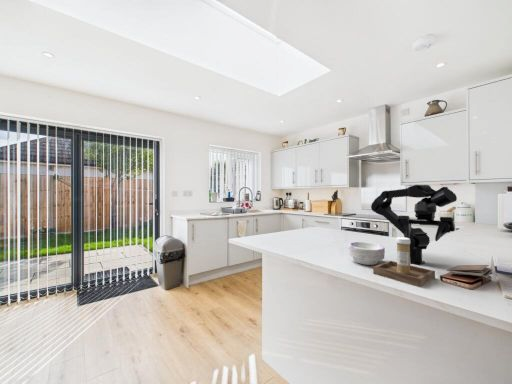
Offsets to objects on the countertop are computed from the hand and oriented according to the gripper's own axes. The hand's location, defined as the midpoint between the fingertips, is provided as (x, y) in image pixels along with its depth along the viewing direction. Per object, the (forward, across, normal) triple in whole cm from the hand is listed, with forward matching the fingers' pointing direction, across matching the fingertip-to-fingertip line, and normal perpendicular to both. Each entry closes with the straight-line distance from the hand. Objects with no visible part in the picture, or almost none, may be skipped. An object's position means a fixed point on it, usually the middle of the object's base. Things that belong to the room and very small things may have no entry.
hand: (421, 239), depth 92 cm
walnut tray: (+15, -5, +5) cm, 16 cm away
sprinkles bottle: (+14, -5, +4) cm, 15 cm away
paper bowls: (+9, -22, +10) cm, 26 cm away
